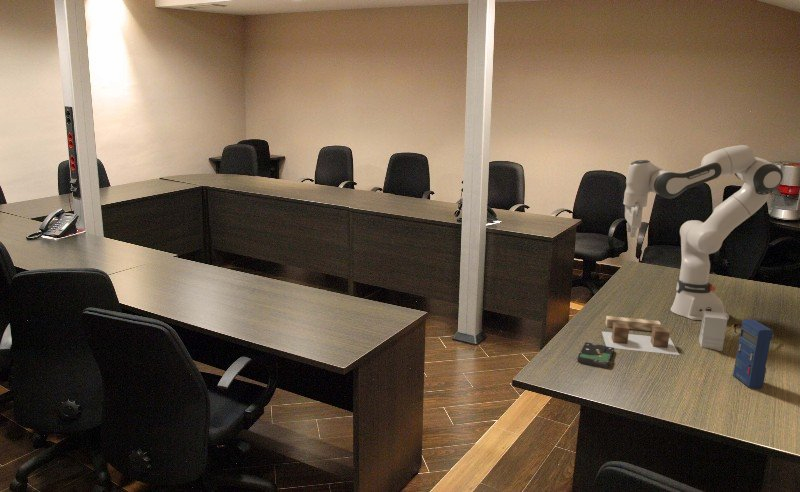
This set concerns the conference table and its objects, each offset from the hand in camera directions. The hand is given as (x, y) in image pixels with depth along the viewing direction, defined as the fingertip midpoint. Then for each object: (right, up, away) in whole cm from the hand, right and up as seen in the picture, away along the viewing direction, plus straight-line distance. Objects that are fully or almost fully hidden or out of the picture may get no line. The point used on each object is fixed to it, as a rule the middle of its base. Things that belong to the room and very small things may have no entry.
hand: (630, 234), depth 256 cm
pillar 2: (+2, -41, -23) cm, 47 cm away
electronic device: (+20, -49, -50) cm, 73 cm away
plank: (-2, -38, -7) cm, 38 cm away
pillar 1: (-12, -40, -21) cm, 47 cm away
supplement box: (+21, -42, -22) cm, 52 cm away
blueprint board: (-5, -41, -22) cm, 47 cm away
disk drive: (-25, -44, -35) cm, 62 cm away
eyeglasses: (+39, -42, -15) cm, 59 cm away
